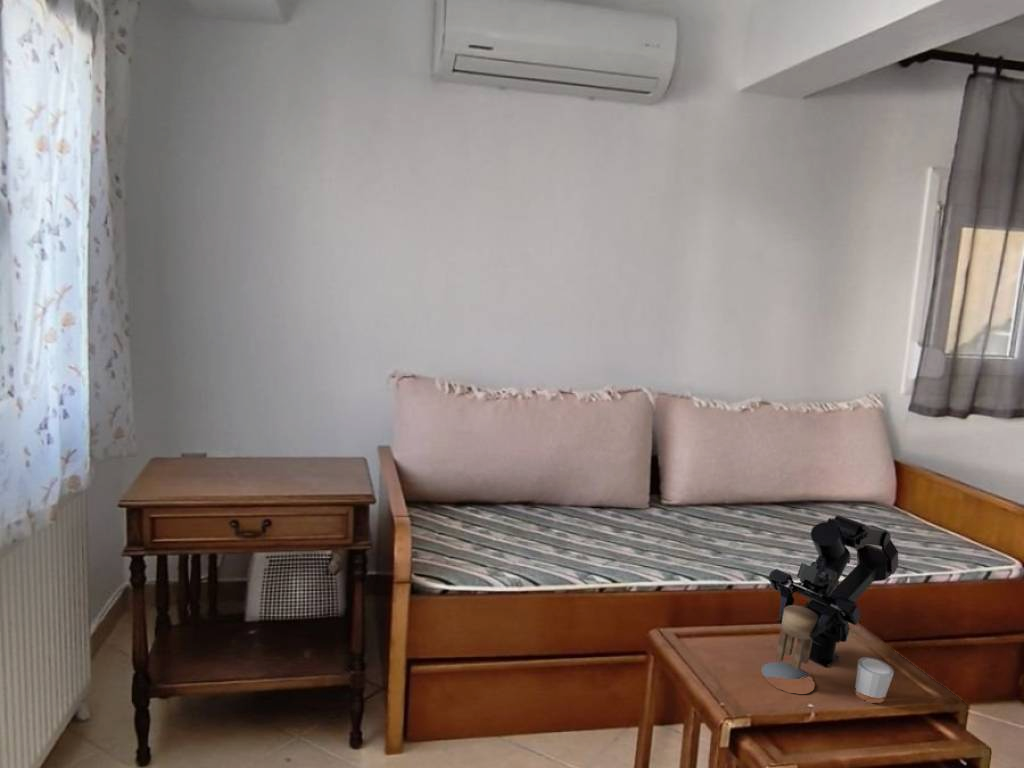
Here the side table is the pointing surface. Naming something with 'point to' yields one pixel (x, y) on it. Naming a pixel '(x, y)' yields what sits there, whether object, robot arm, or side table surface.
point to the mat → (782, 671)
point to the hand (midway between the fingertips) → (795, 630)
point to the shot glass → (873, 677)
